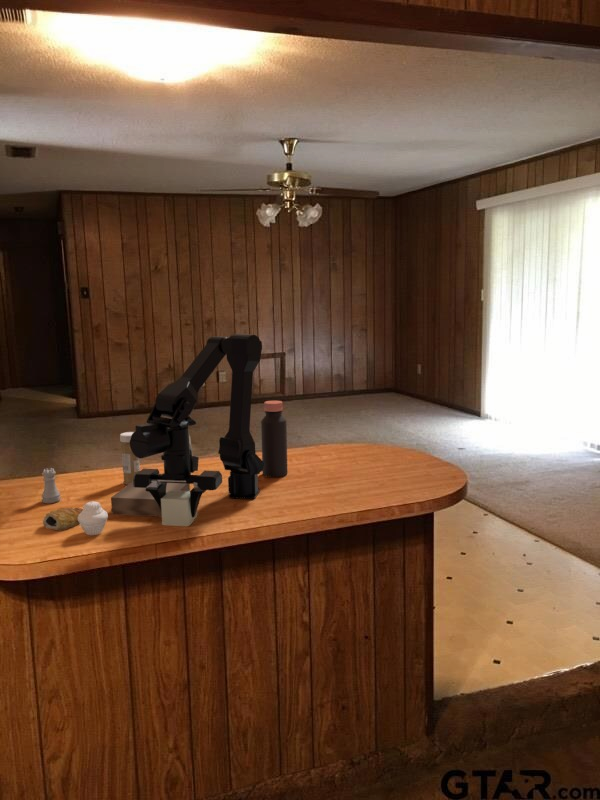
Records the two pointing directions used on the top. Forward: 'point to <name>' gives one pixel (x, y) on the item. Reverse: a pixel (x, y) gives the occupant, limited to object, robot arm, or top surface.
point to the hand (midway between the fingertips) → (179, 516)
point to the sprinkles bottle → (128, 458)
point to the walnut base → (140, 500)
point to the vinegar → (274, 440)
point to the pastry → (62, 518)
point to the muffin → (92, 518)
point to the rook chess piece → (50, 487)
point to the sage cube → (177, 508)
